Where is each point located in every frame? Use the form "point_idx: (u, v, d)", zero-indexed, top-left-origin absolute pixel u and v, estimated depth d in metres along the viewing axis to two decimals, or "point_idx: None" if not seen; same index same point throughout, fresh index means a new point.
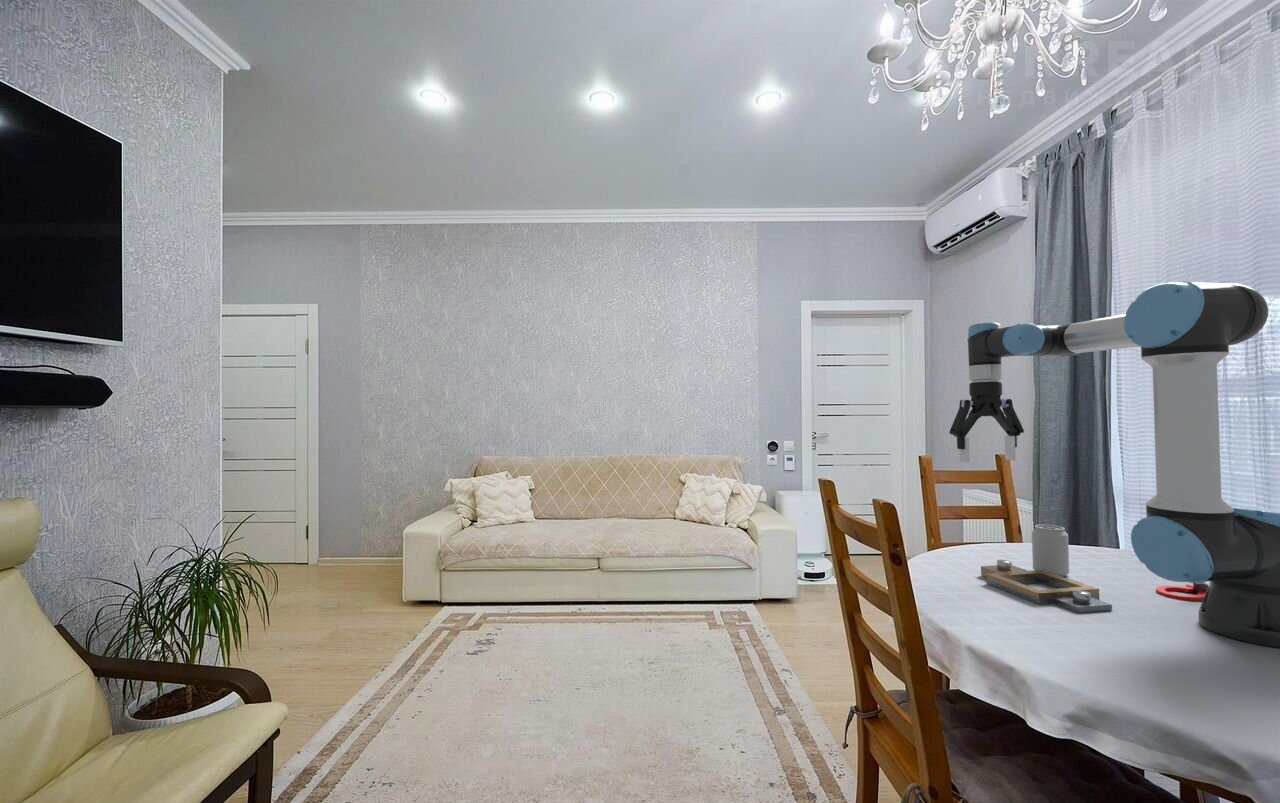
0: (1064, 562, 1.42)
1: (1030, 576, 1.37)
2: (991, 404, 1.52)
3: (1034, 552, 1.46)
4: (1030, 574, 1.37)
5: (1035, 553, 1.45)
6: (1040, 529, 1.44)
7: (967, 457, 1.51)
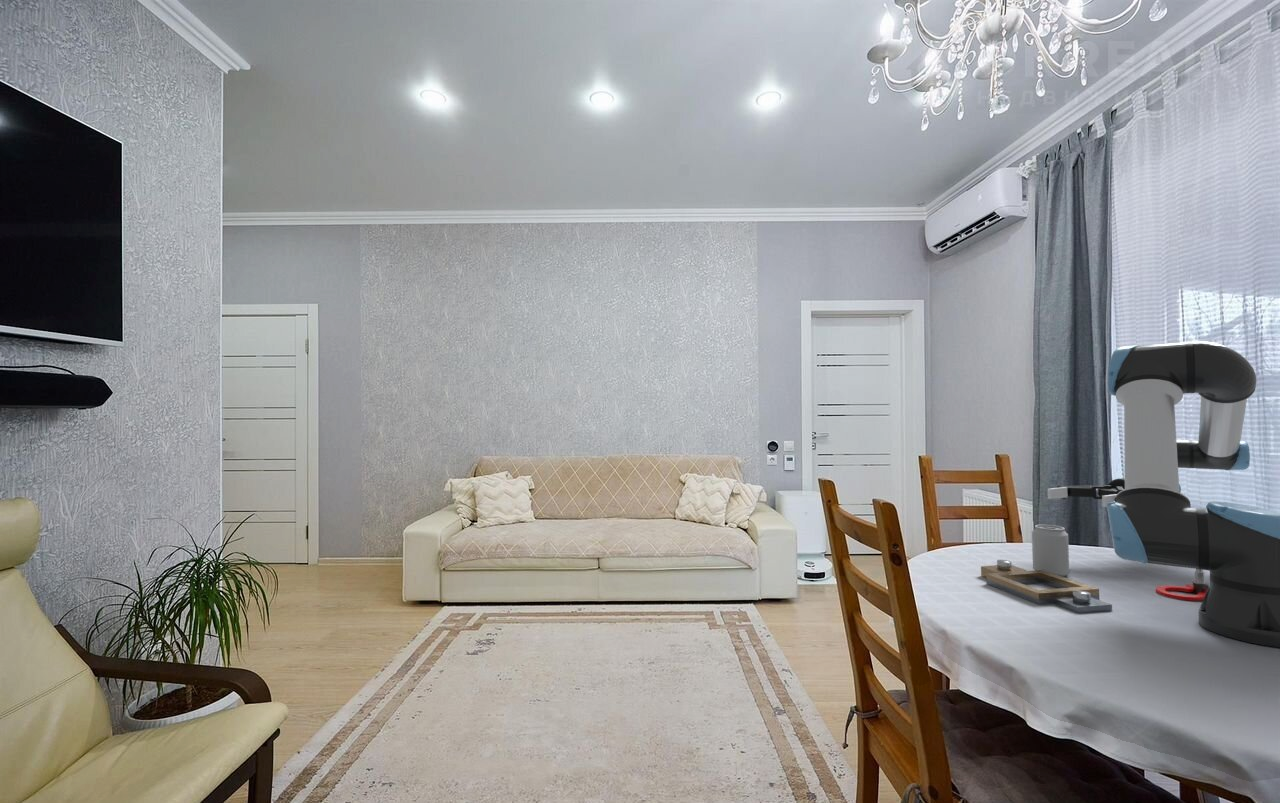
0: (1064, 562, 1.42)
1: (1030, 576, 1.37)
2: None
3: (1034, 552, 1.46)
4: (1030, 574, 1.37)
5: (1035, 553, 1.45)
6: (1040, 529, 1.44)
7: (1050, 488, 1.56)
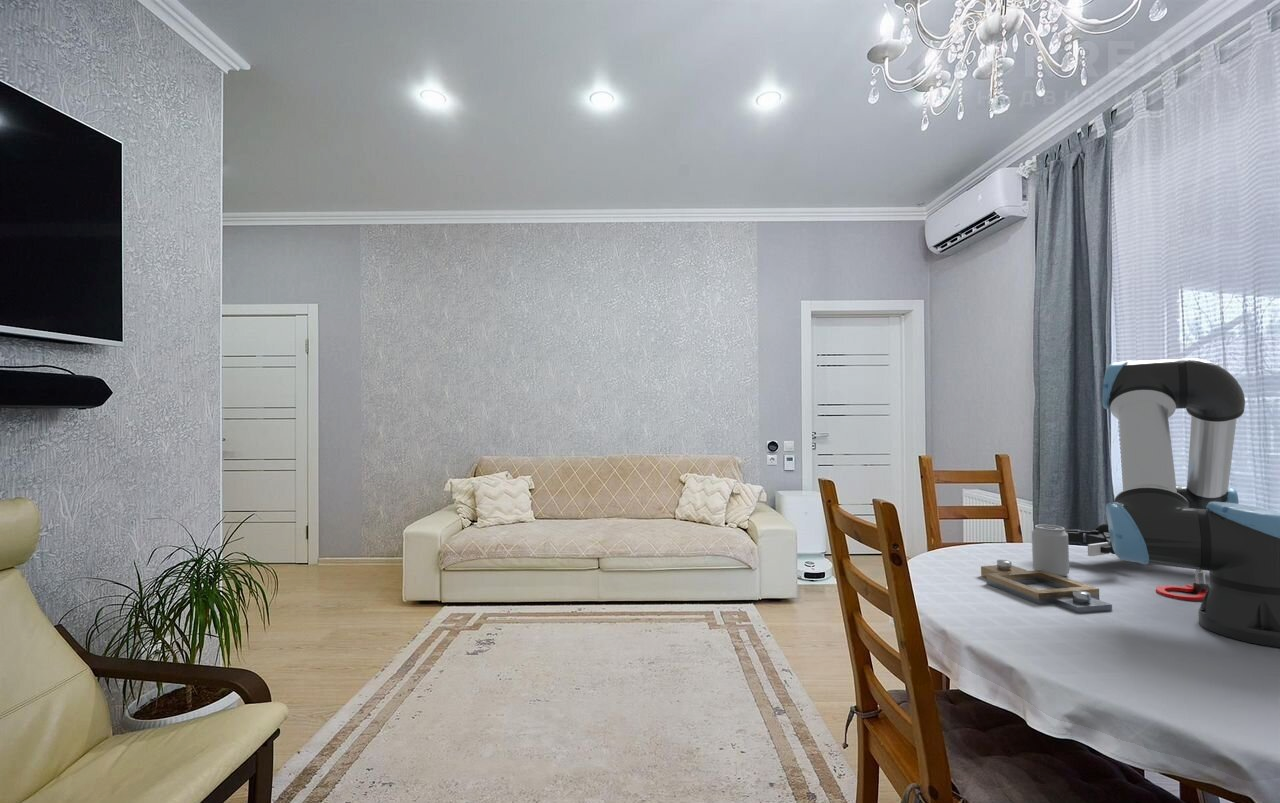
0: (1064, 562, 1.42)
1: (1030, 576, 1.37)
2: None
3: (1034, 552, 1.46)
4: (1030, 574, 1.37)
5: (1035, 553, 1.45)
6: (1040, 529, 1.44)
7: None
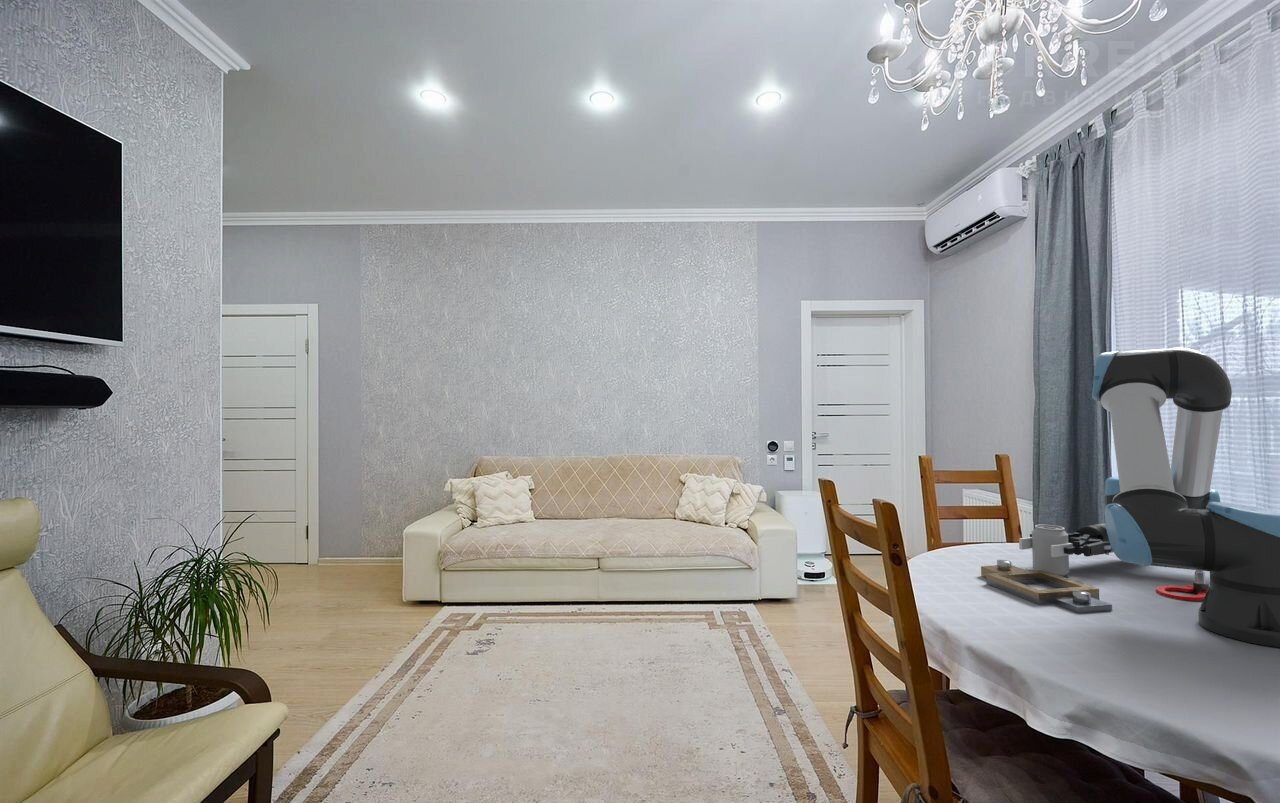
0: (1064, 562, 1.42)
1: (1030, 576, 1.37)
2: None
3: (1034, 552, 1.46)
4: (1030, 574, 1.37)
5: (1035, 553, 1.45)
6: (1040, 529, 1.44)
7: (1022, 538, 1.48)
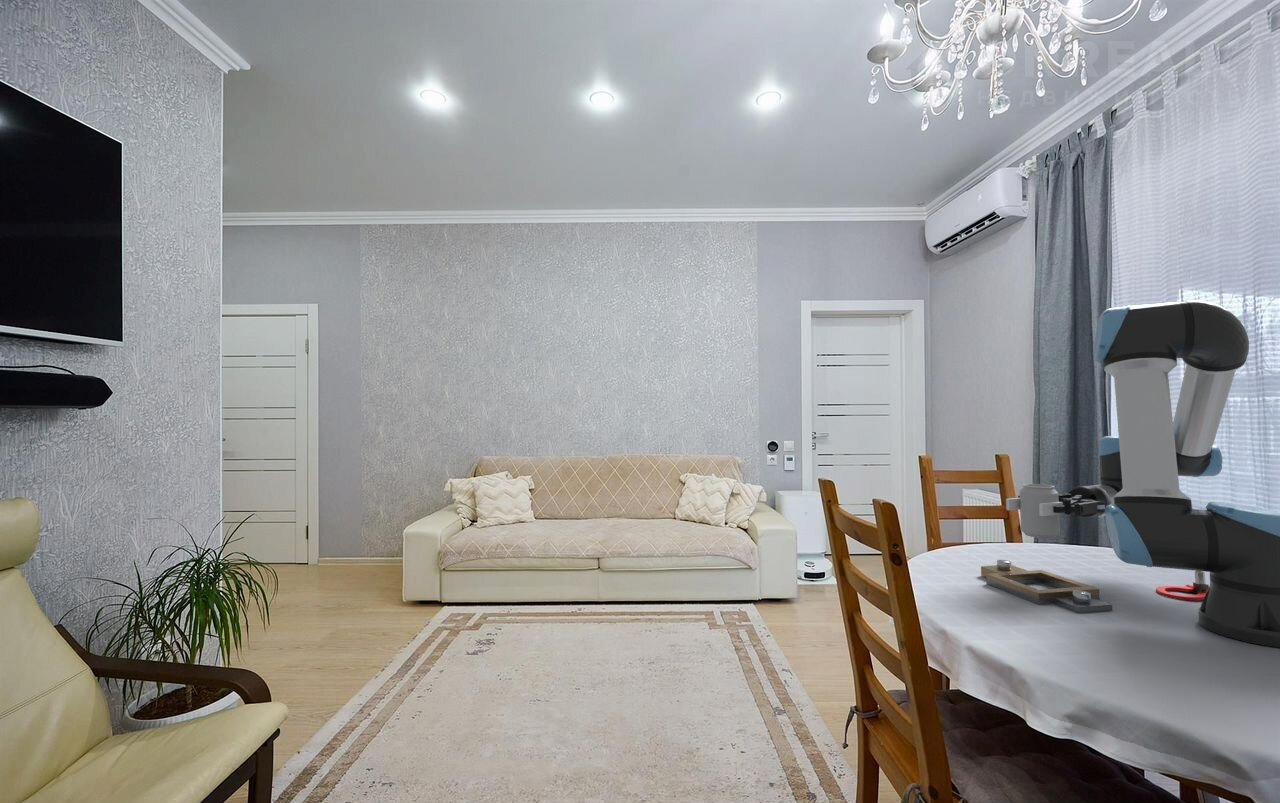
0: (1054, 522, 1.32)
1: (1030, 576, 1.37)
2: None
3: (1022, 512, 1.36)
4: (1030, 574, 1.37)
5: (1023, 513, 1.36)
6: (1028, 487, 1.35)
7: (1010, 498, 1.38)
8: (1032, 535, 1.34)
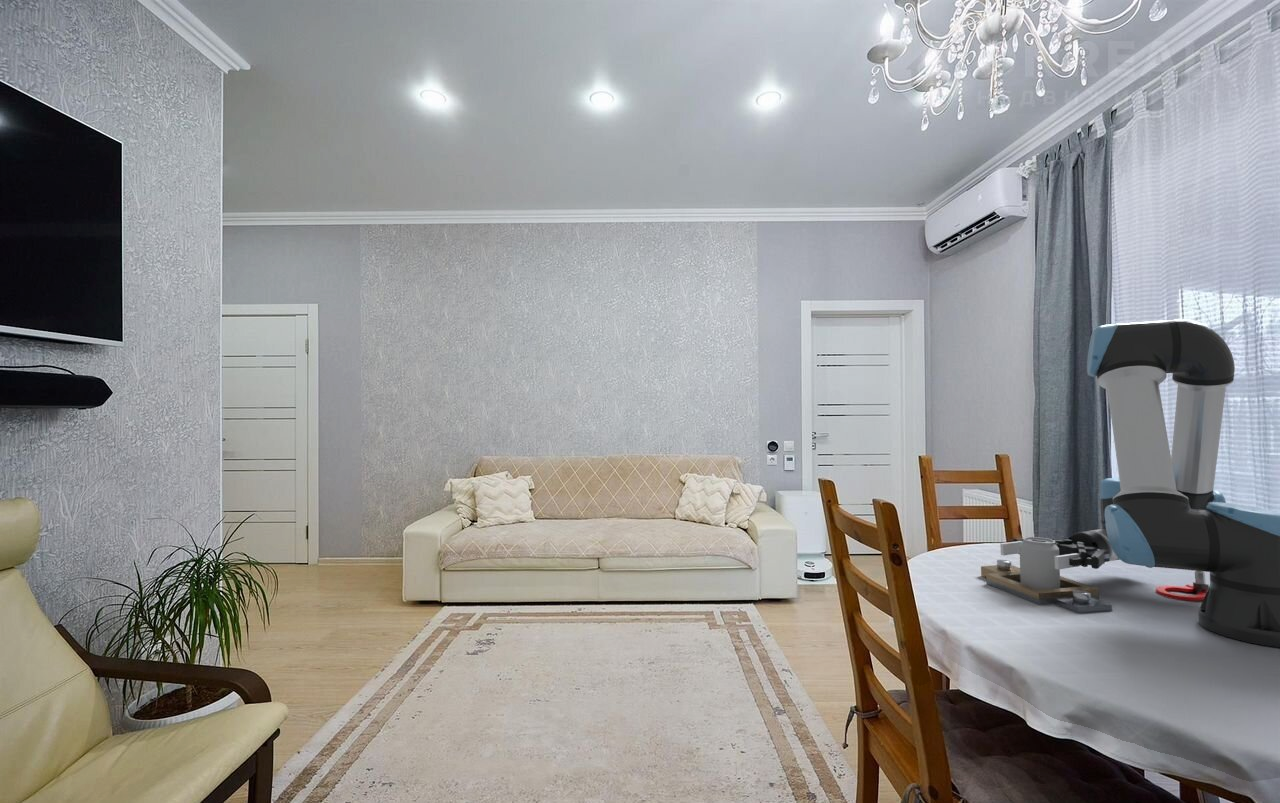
0: (1055, 579, 1.28)
1: None
2: None
3: (1022, 567, 1.32)
4: None
5: (1023, 569, 1.32)
6: (1028, 542, 1.31)
7: (1004, 543, 1.37)
8: None
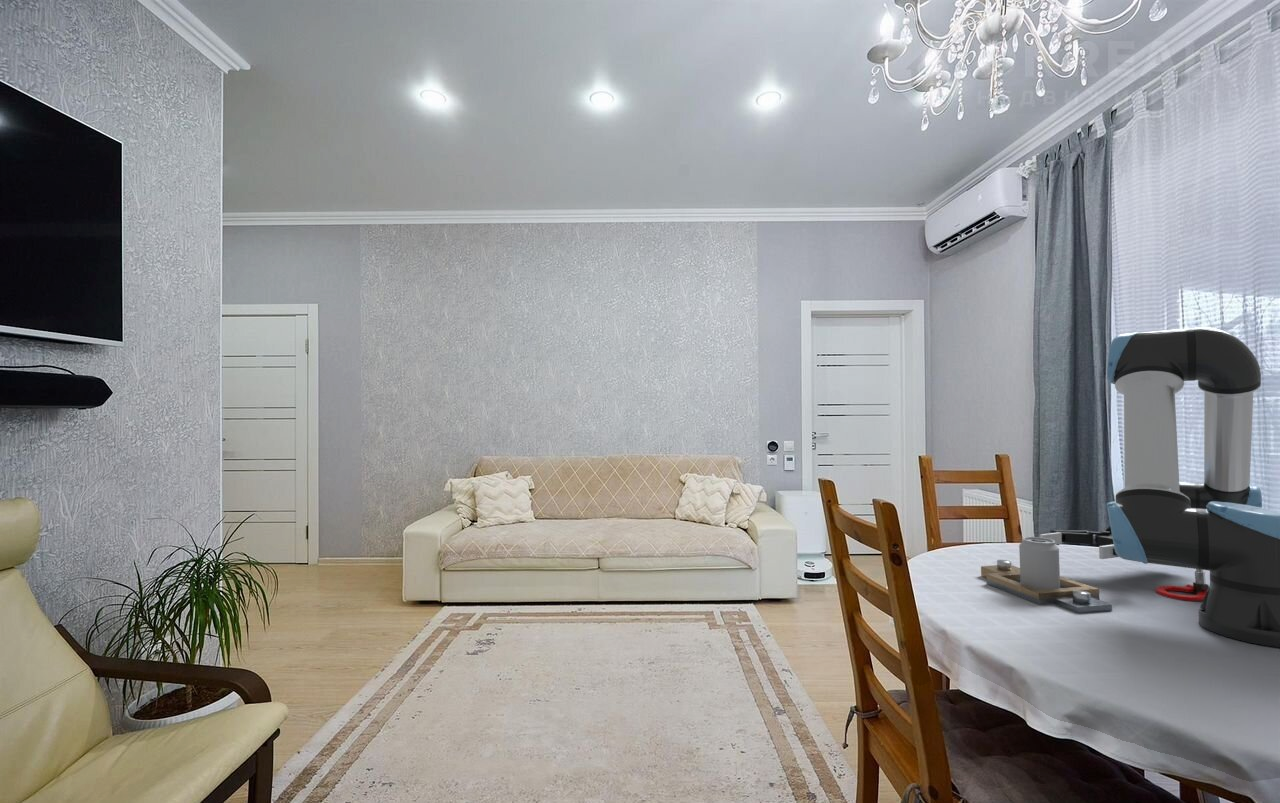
0: (1055, 579, 1.28)
1: None
2: None
3: (1022, 567, 1.32)
4: None
5: (1022, 569, 1.32)
6: (1028, 542, 1.31)
7: (1043, 534, 1.42)
8: None
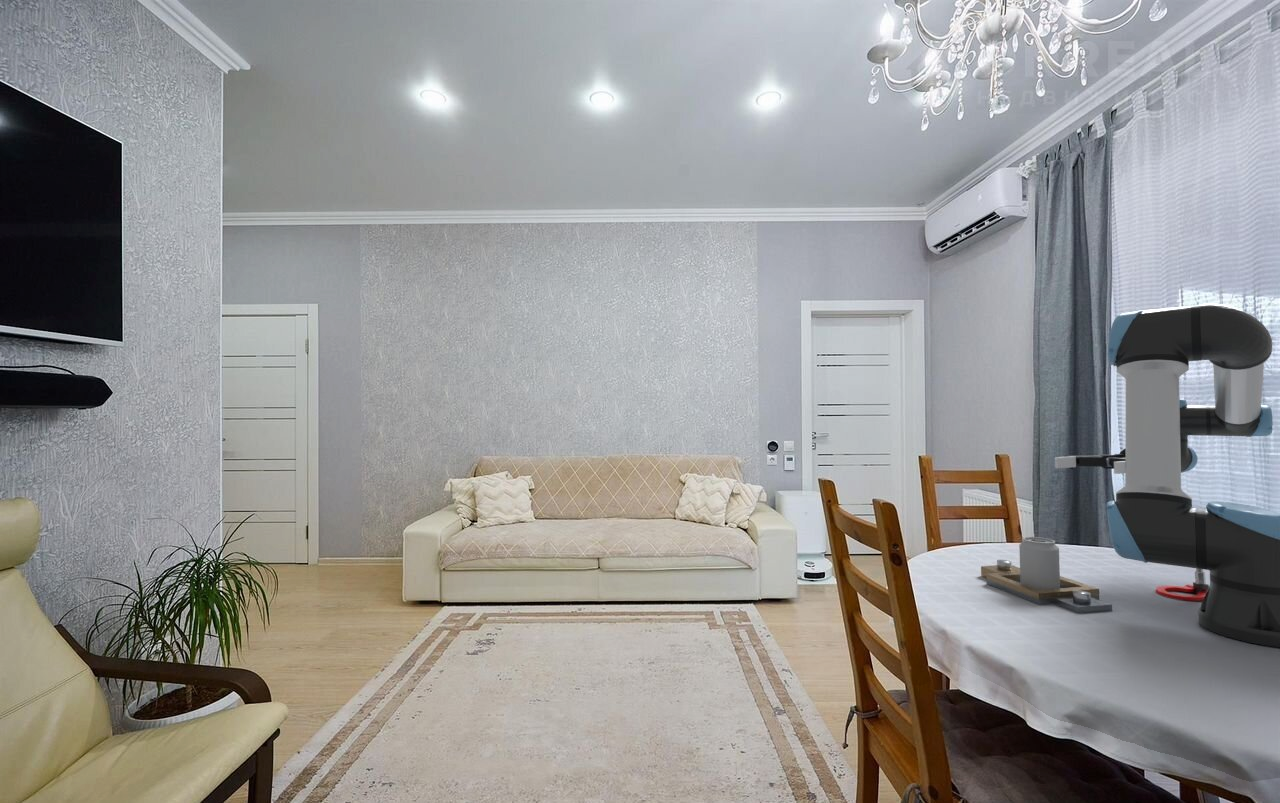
0: (1055, 579, 1.28)
1: None
2: None
3: (1022, 567, 1.32)
4: None
5: (1022, 568, 1.32)
6: (1028, 542, 1.31)
7: (1058, 457, 1.46)
8: None
